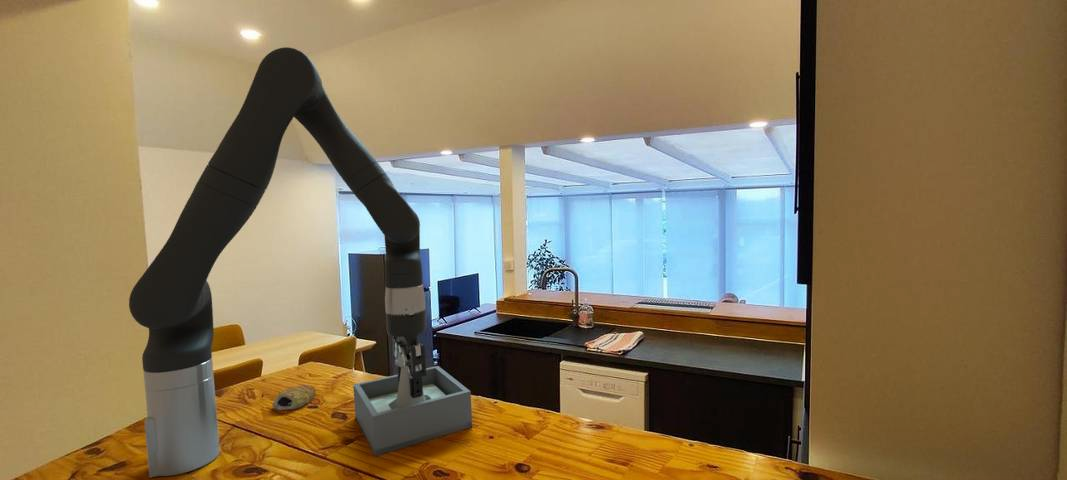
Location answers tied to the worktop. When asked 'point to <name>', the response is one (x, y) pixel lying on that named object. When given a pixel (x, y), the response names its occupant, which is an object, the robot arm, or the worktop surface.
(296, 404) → the ridged seashell
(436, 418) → the bore box
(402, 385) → the salt shaker
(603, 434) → the worktop surface
